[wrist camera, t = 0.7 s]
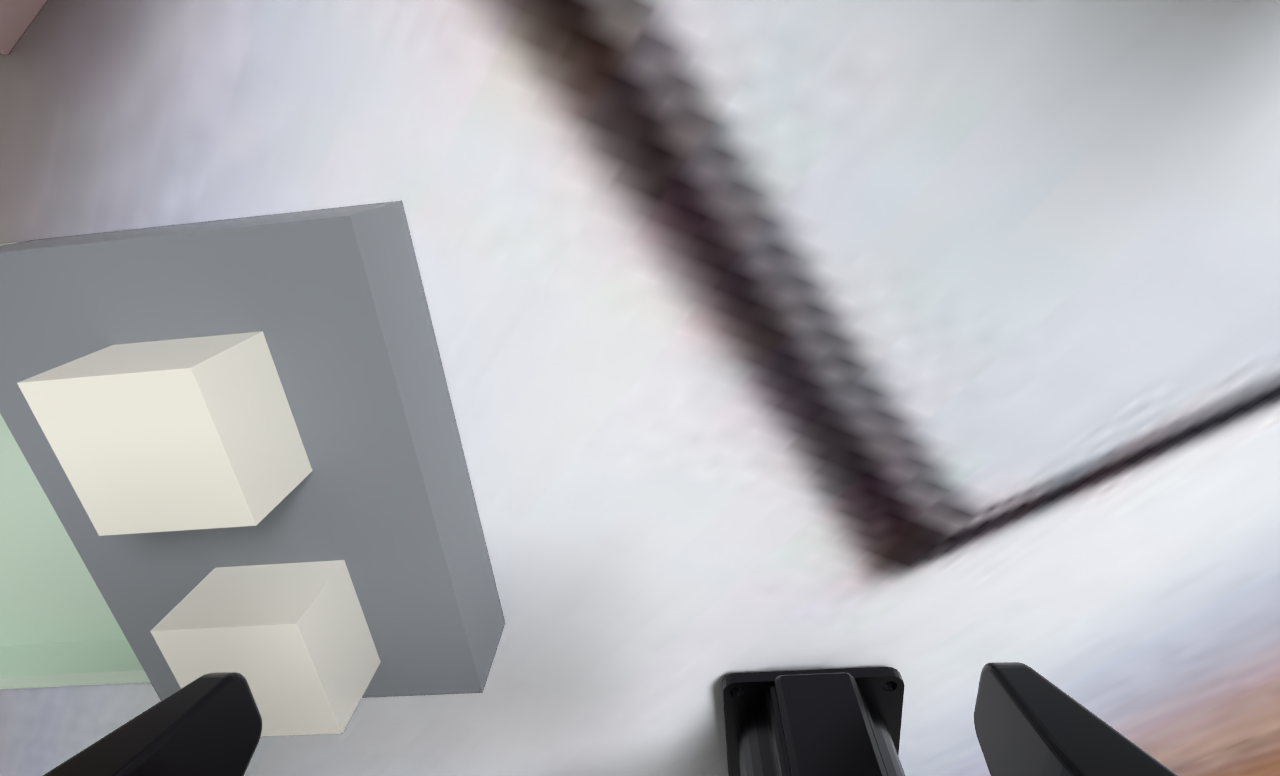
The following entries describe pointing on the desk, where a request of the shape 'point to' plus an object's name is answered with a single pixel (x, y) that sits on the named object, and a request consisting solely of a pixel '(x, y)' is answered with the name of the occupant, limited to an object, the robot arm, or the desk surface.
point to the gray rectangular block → (320, 404)
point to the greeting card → (16, 20)
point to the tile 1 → (172, 433)
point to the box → (50, 594)
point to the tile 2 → (277, 641)
